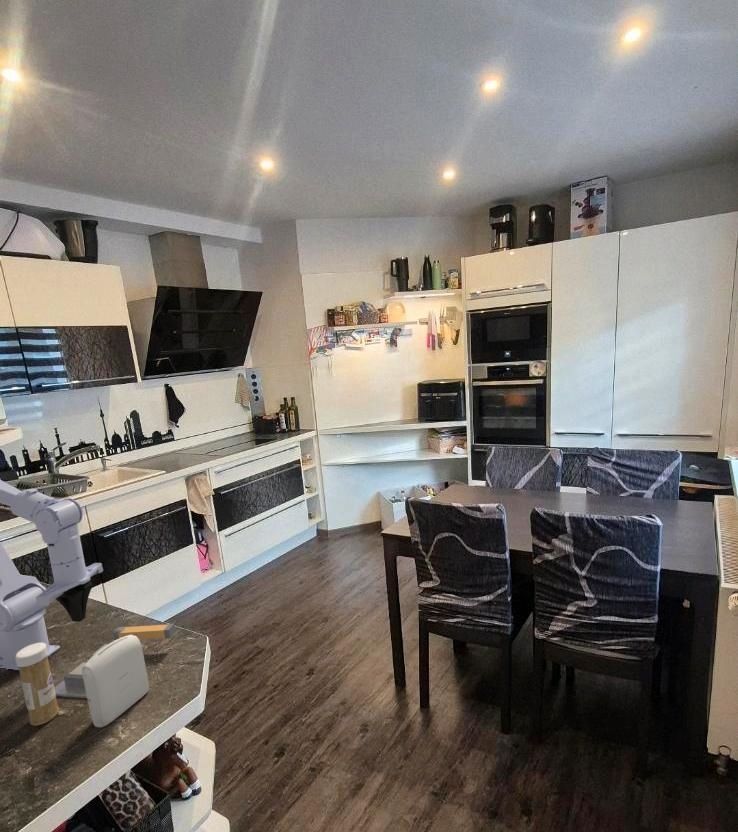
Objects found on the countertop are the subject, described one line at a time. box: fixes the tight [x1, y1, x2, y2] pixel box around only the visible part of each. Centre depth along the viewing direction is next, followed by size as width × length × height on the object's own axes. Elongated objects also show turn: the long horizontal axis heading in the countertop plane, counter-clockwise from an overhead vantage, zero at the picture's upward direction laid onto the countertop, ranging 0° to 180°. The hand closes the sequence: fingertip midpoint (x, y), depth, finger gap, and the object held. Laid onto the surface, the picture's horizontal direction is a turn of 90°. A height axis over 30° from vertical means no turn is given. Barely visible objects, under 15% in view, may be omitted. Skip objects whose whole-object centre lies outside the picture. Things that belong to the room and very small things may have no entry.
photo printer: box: [82, 635, 150, 728], centre depth 83 cm, size 10×4×12 cm, turn 154°
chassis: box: [54, 642, 145, 699], centre depth 96 cm, size 10×16×3 cm, turn 168°
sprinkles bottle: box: [15, 643, 60, 727], centre depth 83 cm, size 5×5×13 cm
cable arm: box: [112, 622, 176, 641], centre depth 101 cm, size 13×2×2 cm, turn 87°
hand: (78, 619), depth 97 cm, fingers closed
